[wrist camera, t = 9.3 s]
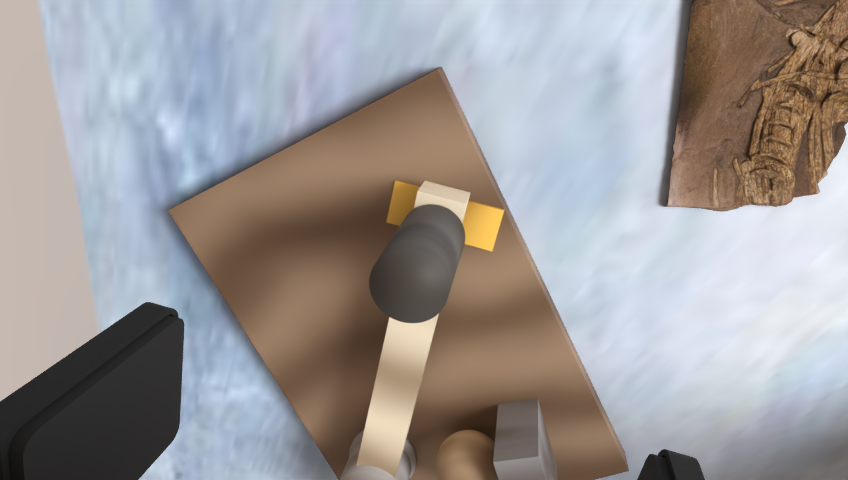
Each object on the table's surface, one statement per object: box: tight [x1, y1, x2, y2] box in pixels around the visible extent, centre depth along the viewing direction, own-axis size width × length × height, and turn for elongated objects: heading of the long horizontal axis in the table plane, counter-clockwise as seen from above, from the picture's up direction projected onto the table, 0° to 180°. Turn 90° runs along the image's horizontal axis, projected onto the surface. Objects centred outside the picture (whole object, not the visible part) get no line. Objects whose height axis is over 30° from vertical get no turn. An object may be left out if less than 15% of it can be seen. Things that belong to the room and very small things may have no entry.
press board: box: [168, 67, 629, 480], centre depth 33 cm, size 26×18×6 cm
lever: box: [340, 181, 470, 480], centre depth 30 cm, size 22×4×8 cm, turn 168°
